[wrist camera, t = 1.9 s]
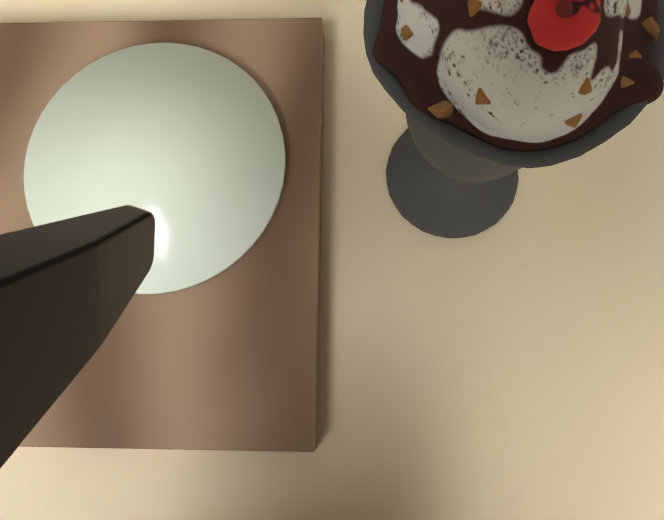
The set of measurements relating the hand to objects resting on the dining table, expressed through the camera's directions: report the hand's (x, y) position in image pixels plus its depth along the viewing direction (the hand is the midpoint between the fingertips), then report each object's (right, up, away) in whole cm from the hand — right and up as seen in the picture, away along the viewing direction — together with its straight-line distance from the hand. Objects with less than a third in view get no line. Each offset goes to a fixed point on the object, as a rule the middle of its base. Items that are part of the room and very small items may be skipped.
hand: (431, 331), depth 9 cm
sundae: (+3, +4, +14) cm, 15 cm away
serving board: (-9, +2, +14) cm, 17 cm away
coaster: (-8, +4, +14) cm, 16 cm away
